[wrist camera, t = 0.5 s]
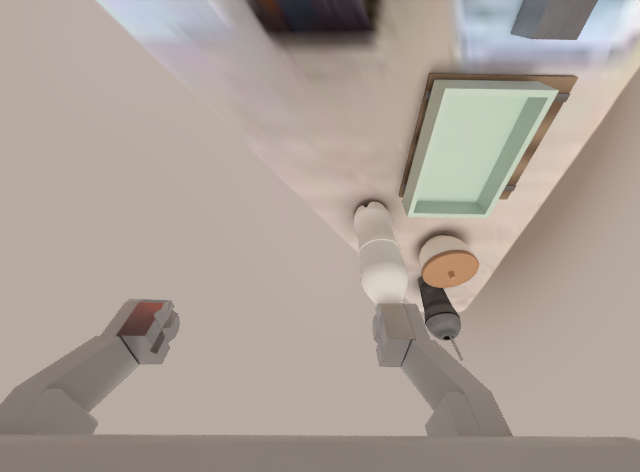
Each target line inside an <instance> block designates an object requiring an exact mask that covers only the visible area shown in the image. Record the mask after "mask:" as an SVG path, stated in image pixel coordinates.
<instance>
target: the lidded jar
mask: <svg viewBox="0 0 640 472" xmlns="http://www.w3.org/2000/svg"><path fill="white" fill-rule="evenodd" d="M419 264H420V269H421V272H422V277H423V280H424V281H425V282H426V283H427V284H429V285H431V286H433V287H438V288H448V287H453V286H457V285H460V284H462V283H464V282H466V281H468V280H470V279H471V278H472V277H473V276H474V275H475V274H476V272H477V271H478V268H479V263H478V260H477V258H476V257H475V256H474V254H473V253H472V251H471V250H470V248H469V247H468V246H467V245H466V244H465V243H464V242H463V241H461V240H460V239H458V238H455V237H452V236H447V235H438V236H434V237H432V238H430V239H429V240H428V241H427V242H426V243H425V245H424V246H423V247H422V249H421V251H420V255H419Z"/></svg>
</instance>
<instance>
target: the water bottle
mask: <svg viewBox="0 0 640 472" xmlns="http://www.w3.org/2000/svg"><path fill="white" fill-rule="evenodd" d="M354 229H355V231H356V234H357V237H358V241H359V252H358V259H359V264H360V273H361V277H360V280H361V284H362V287H363V289H364V291H365V292H366V294H367V295H368V296H369V298H370V299H371V300H372V301H373V302H374V303H375V304H376V306H377V304H378V303H402V300H403V297H404V295H405V292H406V289H407V285H408V273H407V270H406V269H405V266H404V262H403V259H402V255H401V252H400V247H399V245H398V243H397V242H396V240H395V237H394V234H393V230H392V218H391V215H390V212H389V211H388V210H387V209H386V208H385V207H384V206H383V205H382V204H380V203H378V202H374V201H373V202H370V203H369V204H368V206H367V207H366V208H365V207H364V206H363V205H362V206H360V207H359V208H358V209H357V211H356V213H355V215H354Z"/></svg>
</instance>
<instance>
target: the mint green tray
mask: <svg viewBox="0 0 640 472" xmlns="http://www.w3.org/2000/svg"><path fill="white" fill-rule="evenodd" d="M558 92H559V90H557V89H555V88H552V87H550V86H548V85H545V84H543V83H541V82H538V81H485V80H434V84H433V88H432V91H431V95H430V99H429V103H428V106H427V110H426V114H425V118H424V121H423V125H422V129H421V133H420V136H419V140H418V144H417V148H416V151H415V155H414V159H413V163H412V166H411V170H410V174H409V178H408V181H407V185H406V189H405V193H404V196H403V200H402V203H403V206H404V209H405V212H406V214H407V217H443V218H488V217H489V215H490V213H491V212H492V210H493V208H494V206H495V205H496V203H497V201H498V199H499V197H500V196H501V194H502V192H503V190H504V188H505V187H506V185H507V183H508V181H509V179H510V178H511V176H512V174H513V172H514V170H515V169H516V167H517V165H518V163H519V162H520V160H521V158H522V156H523V154H524V153H525V151H526V149H527V147H528V145H529V144H530V142H531V140H532V138H533V136H534V135H535V133H536V131H537V129H538V127H539V126H540V124H541V122H542V120H543V119H544V117H545V115H546V113H547V111H548V110H549V108H550V106H551V104H552V102H553V101H554V99H555V97H556V95H557V93H558Z"/></svg>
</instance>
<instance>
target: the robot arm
mask: <svg viewBox="0 0 640 472" xmlns="http://www.w3.org/2000/svg"><path fill="white" fill-rule="evenodd" d="M173 308H174V305H173V303H172V301H169V300H146V299H129V300H128V301H126V302H125V303H124V305H123V306H122V307H121V309H120V310H119V311H118V313H117V314H116V315H115V317H114V318H113V319H112V321H111V322H110V323H109V325H108V326H107V327H106V329H105V330H104V331H103V333H102V334H101V335H100V336H95V337H94V338H92V339H90V340H89V341H87V342H86V343H84V344H83V345H81V346H79V347H78V348H76V349H75V350H73V351H72V352H70V353H69V354H67V355H65V356H64V357H62V358H61V359H59V360H58V361H56V362H54V363H53V364H51V365H50V366H48V367H46V368H45V369H43V370H42V371H40V372H39V373H37V374H35V375H34V376H32V377H31V378H29V379H28V380H26V381H25V382H23V383H21V384H20V385H18V386H17V387H15V388H14V389H13V391H12V392H11V393H10V394H9V395H8V396H7V397H6V399H5V400H4V401H3V402H2V403H1V404H0V472H640V440H638V439H635V438H627V437H513V435H512V433H511V431H510V429H509V427H508V425H507V423H506V421H505V419H504V417H503V415H502V413H501V411H500V409H499V407H498V405H497V403H496V401H495V399H494V397H493V395H492V393H491V391H490V390H488V389H487V388H486V387H485V386H484V385H483V384H482V383H481V382H480V381H479V380H478V379H476V378H475V377H474V376H473V375H472V374H471V373H470V372H469V371H468V370H467V369H465V368H464V367H463V366H462V365H461V364H460V363H459V362H458V361H457V360H455V359H454V358H453V357H452V356H451V355H450V354H449V353H448V352H447V351H446V350H445V349H443V348H442V347H441V346H440V345H439V344H438V343H437V342H436V341H435V340H430V337H429V335H428V332H427V330H426V327H425V324H424V322H423V319H422V316H421V314H420V311H419V309H418V306H417V305H416V304H402V303H378V304H377V306H376V315H375V316H374V319H373V335H374V340H375V341H376V342H377V343H378V345H377V349H376V351H377V357H378V362H379V366H384V367H385V366H386V367H401V369H402V370H403V372H404V373H405V374H406V375H407V377H408V378H409V379H410V380H411V382H412V383H413V384H414V386H415V387H416V388H417V390H418V391H419V392H420V393H421V395H422V396H423V397H424V399H425V400H426V401H427V402H428V404H429V405H430V406H431V408H432V409H433V410H434V413H433V414H432V416H431V417H430V419H429V421H428V422H427V424H426V425H425V428H426V431H427V435H428V436H305V435H304V436H302V435H301V436H300V435H298V436H297V435H296V436H295V435H293V436H292V435H92V434H93V432H94V431H95V429H96V427H97V425H98V422H97V420H96V419H95V418H94V417H93V416H92V415H90V414H89V412H90V411H91V410H92V409H93V408H94V407H95V406H96V405H97V404H98V403H100V401H102V400H103V399H104V398H105V397H106V396H107V395H108V394H109V393H110V392H111V391H112V390H113V389H115V388H116V387H117V386H118V385H119V384H120V383H121V382H122V381H123V380H124V379H125V378H127V377H128V376H129V375H130V374H131V373H132V372H133V371H134V370H135V369H136V368H137V367H138V366H139V364H162V363H163V361H164V359H165V357H166V355H167V353H168V351H169V349H170V346H169V341H171V340H172V339H173V338H175V336H176V334H177V332H178V329H179V324H180V321H179V316H178V314H177V313H176V312H175V311H173V310H172V309H173Z"/></svg>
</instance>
